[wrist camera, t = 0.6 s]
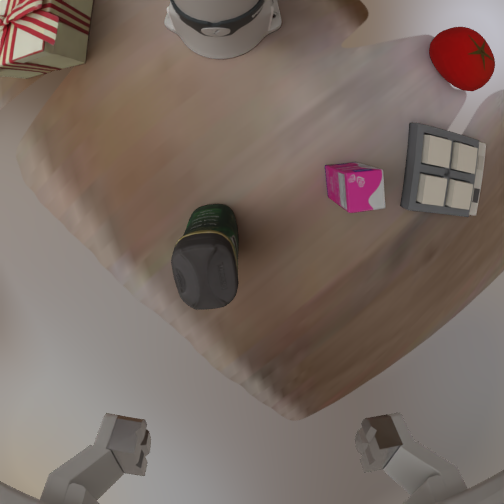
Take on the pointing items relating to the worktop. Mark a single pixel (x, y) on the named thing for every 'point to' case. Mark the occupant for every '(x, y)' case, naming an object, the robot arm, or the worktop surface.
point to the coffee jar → (207, 258)
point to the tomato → (462, 58)
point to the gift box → (42, 35)
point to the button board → (439, 170)
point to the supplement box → (355, 186)
